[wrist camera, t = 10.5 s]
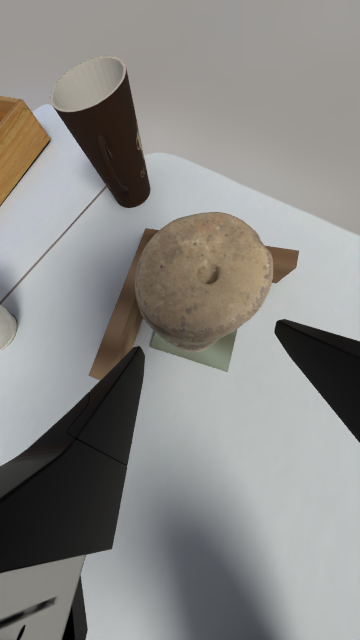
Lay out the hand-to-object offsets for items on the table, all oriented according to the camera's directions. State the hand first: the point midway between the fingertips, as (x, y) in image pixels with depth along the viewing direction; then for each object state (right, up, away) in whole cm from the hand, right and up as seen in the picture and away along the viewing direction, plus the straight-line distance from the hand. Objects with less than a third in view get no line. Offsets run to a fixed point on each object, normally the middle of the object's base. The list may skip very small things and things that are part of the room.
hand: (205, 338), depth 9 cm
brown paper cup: (-10, +22, +15) cm, 29 cm away
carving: (+1, +1, +8) cm, 8 cm away
